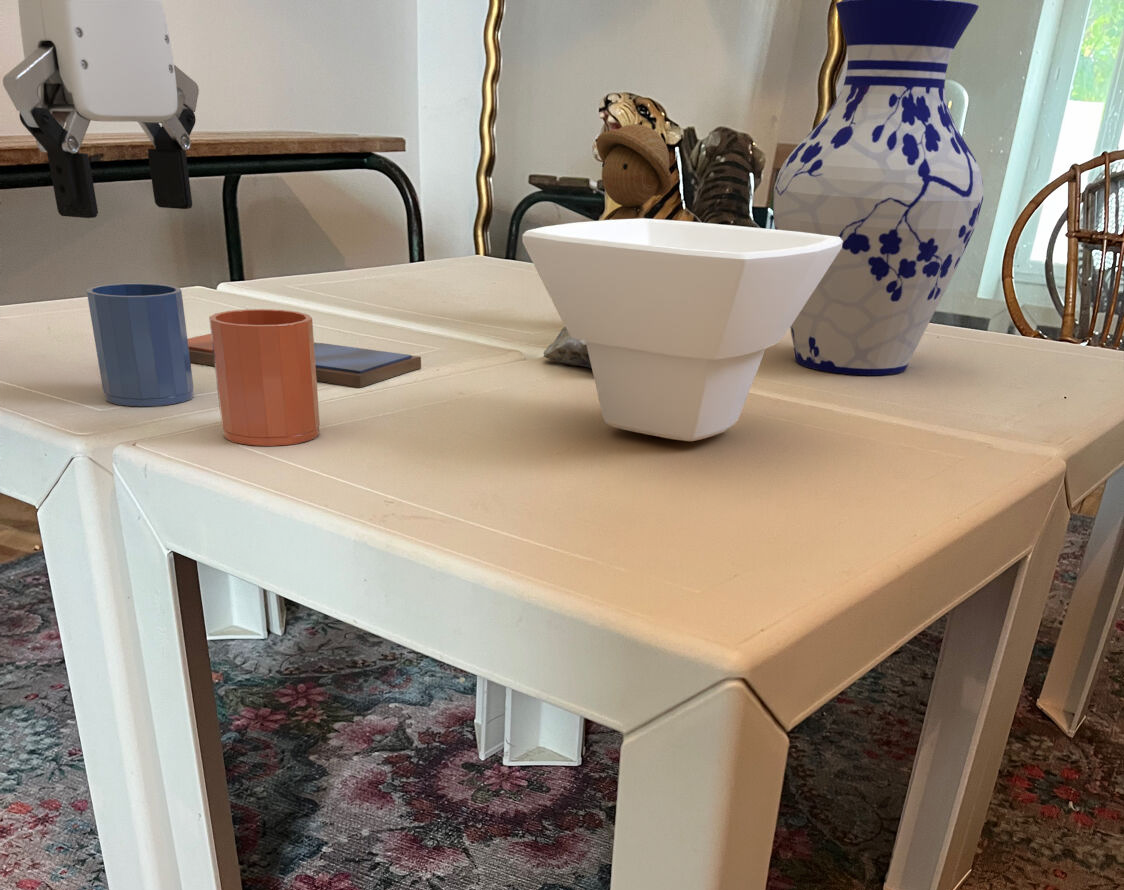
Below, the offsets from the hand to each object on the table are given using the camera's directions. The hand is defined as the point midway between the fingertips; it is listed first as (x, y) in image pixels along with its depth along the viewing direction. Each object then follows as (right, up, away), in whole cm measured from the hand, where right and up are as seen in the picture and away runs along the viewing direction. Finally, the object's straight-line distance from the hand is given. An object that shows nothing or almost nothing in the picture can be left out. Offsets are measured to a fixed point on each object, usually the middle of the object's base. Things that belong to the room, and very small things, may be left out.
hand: (128, 212), depth 83 cm
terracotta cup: (+11, -17, -2) cm, 20 cm away
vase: (+61, -2, +29) cm, 68 cm away
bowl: (+40, -16, +3) cm, 44 cm away
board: (+7, -4, +20) cm, 22 cm away
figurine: (+39, +6, +41) cm, 57 cm away
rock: (+36, -4, +22) cm, 42 cm away
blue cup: (-1, -12, +7) cm, 13 cm away
